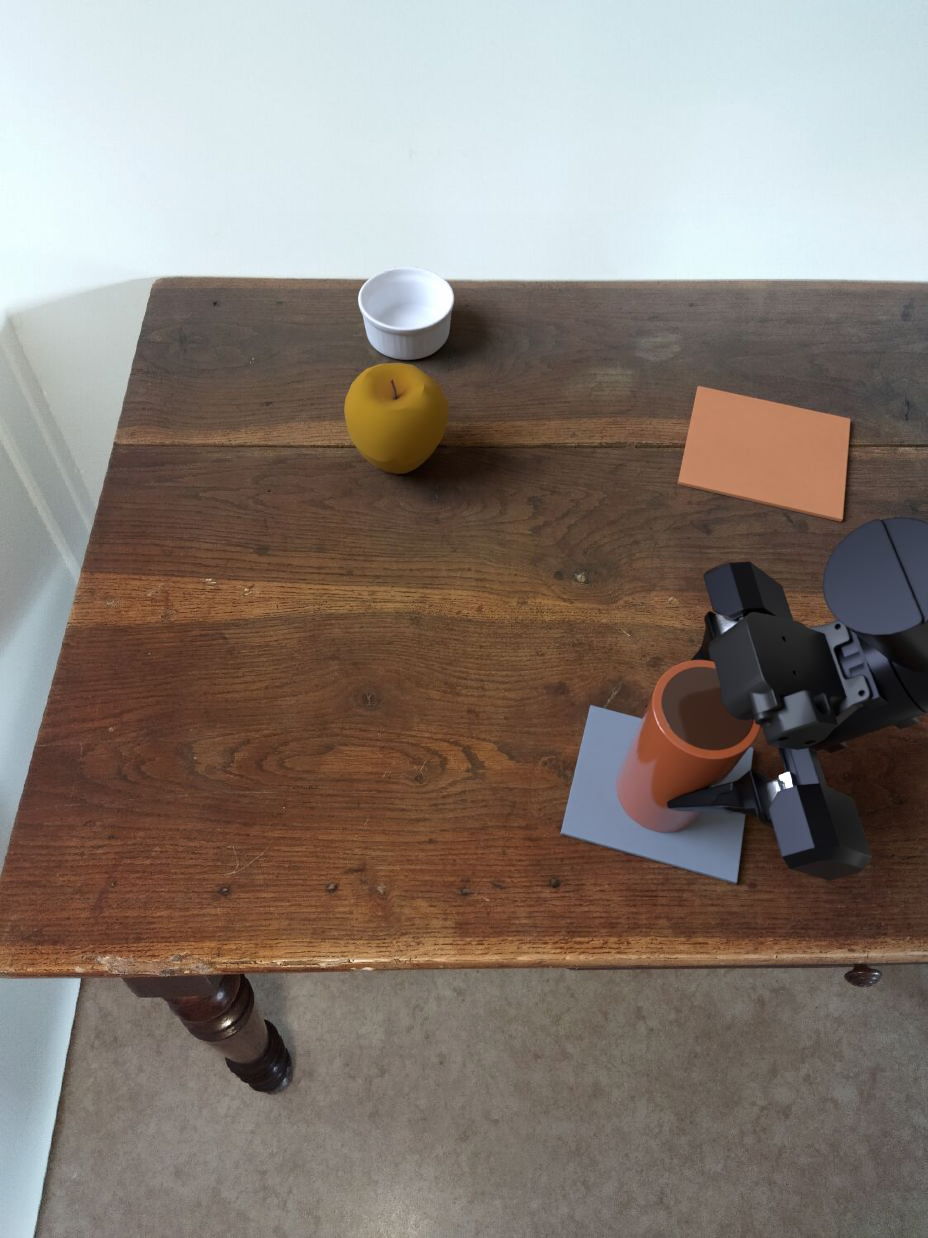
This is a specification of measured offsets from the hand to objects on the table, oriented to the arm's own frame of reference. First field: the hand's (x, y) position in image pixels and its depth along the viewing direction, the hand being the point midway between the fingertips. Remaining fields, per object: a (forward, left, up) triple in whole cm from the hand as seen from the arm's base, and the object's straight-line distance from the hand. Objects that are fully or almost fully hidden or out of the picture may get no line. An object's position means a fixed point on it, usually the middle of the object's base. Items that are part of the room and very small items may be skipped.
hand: (659, 757), depth 56 cm
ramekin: (+30, -40, -7) cm, 50 cm away
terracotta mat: (-5, -35, -7) cm, 36 cm away
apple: (+26, -25, -7) cm, 36 cm away
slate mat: (-1, -1, -7) cm, 7 cm away
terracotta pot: (-1, -1, -6) cm, 6 cm away
